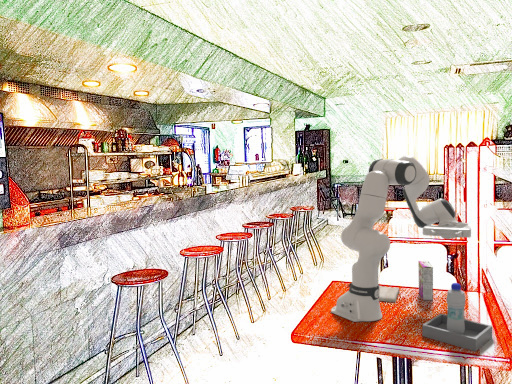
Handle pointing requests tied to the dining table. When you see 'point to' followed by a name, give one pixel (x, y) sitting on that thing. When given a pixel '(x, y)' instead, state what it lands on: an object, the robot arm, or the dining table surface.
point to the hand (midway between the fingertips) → (445, 234)
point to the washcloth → (388, 294)
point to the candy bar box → (425, 280)
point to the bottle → (455, 309)
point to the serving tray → (470, 339)
